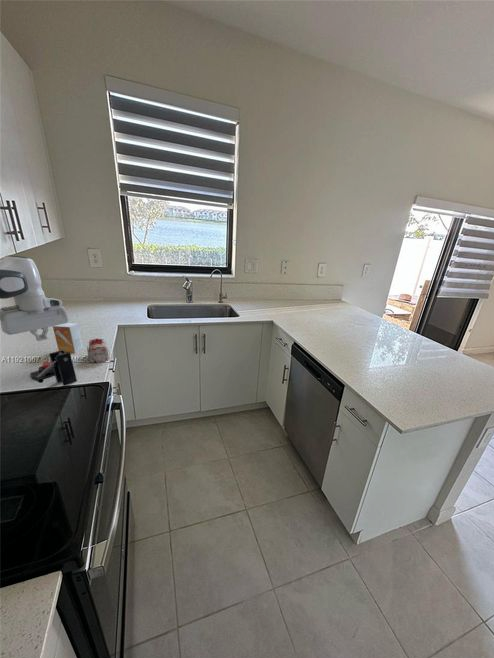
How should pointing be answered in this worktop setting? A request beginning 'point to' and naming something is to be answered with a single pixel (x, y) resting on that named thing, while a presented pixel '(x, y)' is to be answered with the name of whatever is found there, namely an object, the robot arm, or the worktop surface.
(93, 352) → the food item
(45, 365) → the button
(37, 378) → the lever
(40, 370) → the control block
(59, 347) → the small box
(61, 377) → the bracket
